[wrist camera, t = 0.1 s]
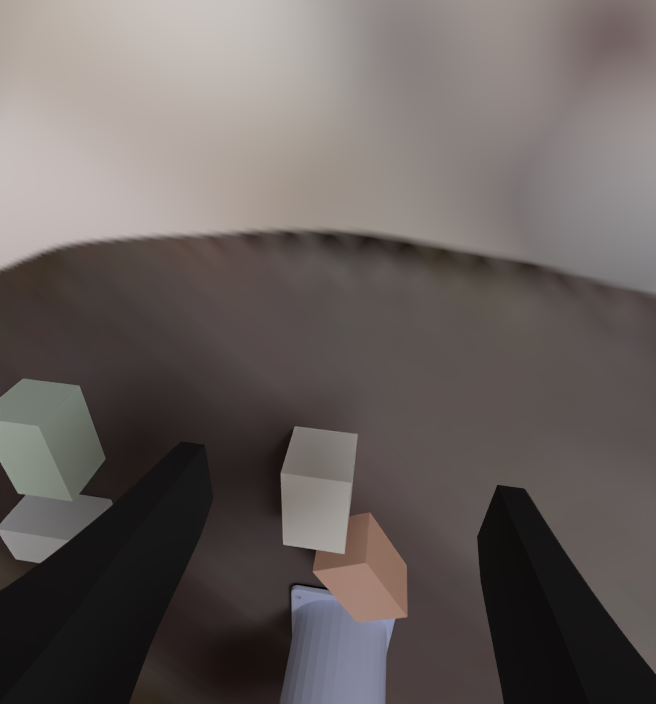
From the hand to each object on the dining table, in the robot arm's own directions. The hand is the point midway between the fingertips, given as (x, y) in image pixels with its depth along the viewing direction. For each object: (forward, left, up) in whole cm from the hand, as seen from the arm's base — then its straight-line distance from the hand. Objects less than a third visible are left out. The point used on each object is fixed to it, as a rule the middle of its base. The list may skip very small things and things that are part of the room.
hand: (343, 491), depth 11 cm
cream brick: (-11, +2, -10) cm, 15 cm away
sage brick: (-10, +18, -10) cm, 23 cm away
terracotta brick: (-18, -1, -10) cm, 21 cm away
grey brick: (-19, +20, -10) cm, 29 cm away
